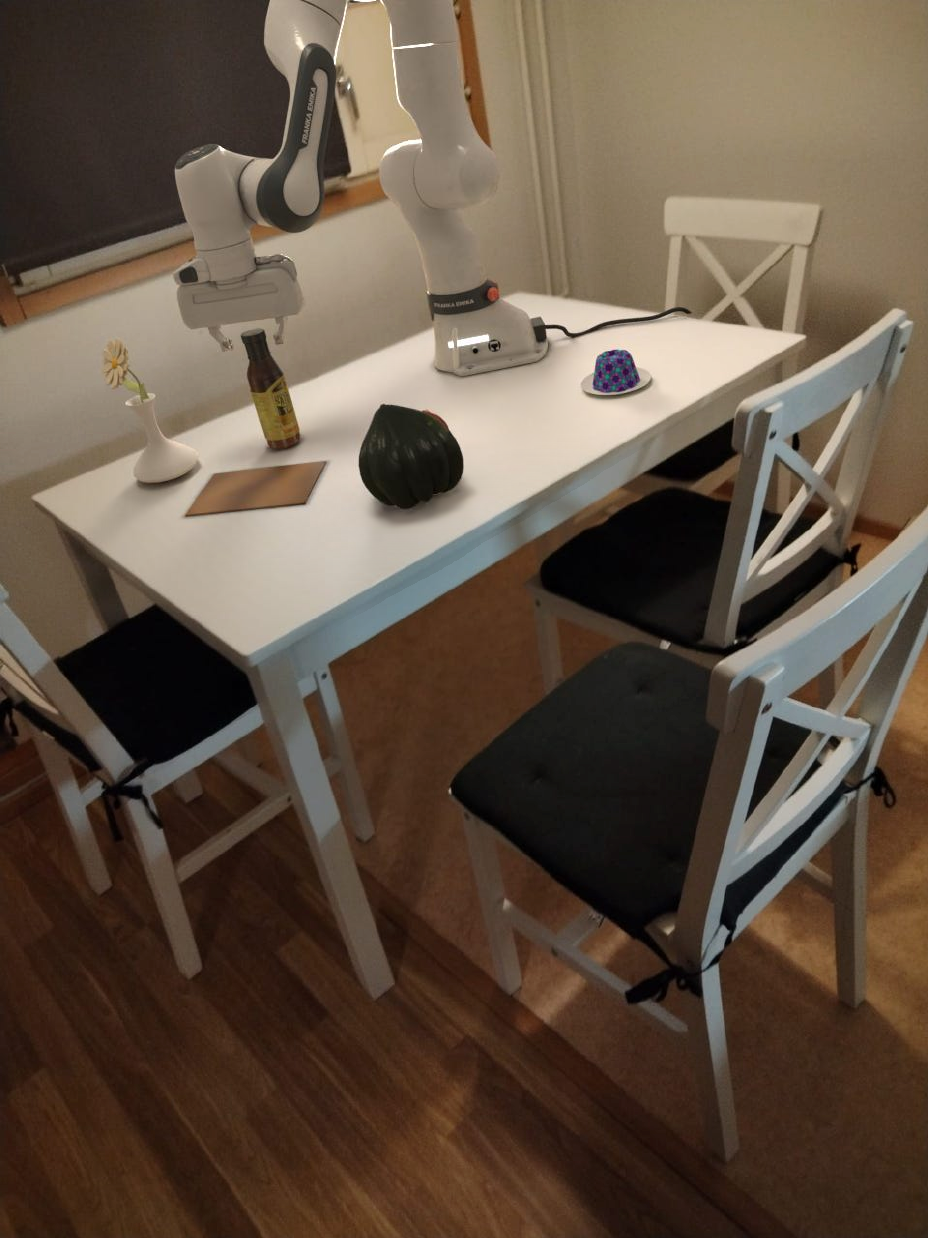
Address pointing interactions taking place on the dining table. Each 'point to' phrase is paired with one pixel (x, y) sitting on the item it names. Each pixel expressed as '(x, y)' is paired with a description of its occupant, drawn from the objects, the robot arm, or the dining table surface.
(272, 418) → the sauce bottle
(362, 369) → the dining table surface
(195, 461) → the flower in vase
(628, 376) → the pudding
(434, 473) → the squash
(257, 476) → the cork mat
